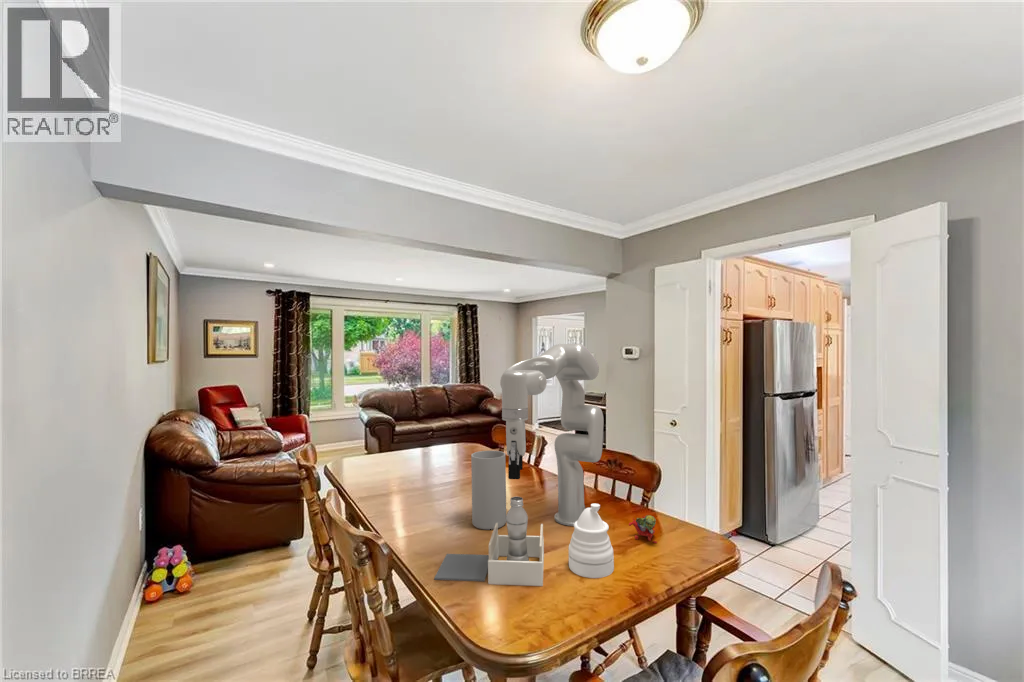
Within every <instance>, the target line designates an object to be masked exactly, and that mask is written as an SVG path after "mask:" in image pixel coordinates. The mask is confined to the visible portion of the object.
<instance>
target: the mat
mask: <svg viewBox="0 0 1024 682" xmlns="http://www.w3.org/2000/svg"><path fill="white" fill-rule="evenodd" d="M488 560H489V554H475V553H474V554H470V553H469V554H467V553H466V554H465V553H446V554H445V557H444V558H443V560H442V562H441V564H440V567H439V568H438V570H437V572H436V574H435V575H434V579H433V580H437V581H458V582H459V581H461V582H463V581H465V582H485V581H486V579H487V576H488Z"/></svg>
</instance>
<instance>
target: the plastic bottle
mask: <svg viewBox="0 0 1024 682" xmlns="http://www.w3.org/2000/svg"><path fill="white" fill-rule="evenodd" d="M509 505H510V506H509V507H510V508H509V510H507V512H506V529H507V535H508V553H507V556H506V560H505V561H530V559H529V558H530V557H528V552H527V542H526V536H527V534H528V533H527V530H528V521H529V520H528V519H529V516H528V513H527V511H526V509H525V508H524V498H523V497H521V496H512V497H510V503H509Z"/></svg>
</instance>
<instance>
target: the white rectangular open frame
mask: <svg viewBox="0 0 1024 682" xmlns="http://www.w3.org/2000/svg"><path fill="white" fill-rule="evenodd" d="M492 530H493V531H492V533H491V536H490V540H489V542H488V555H489V560H488V572H487V581H488V583H487V584H488V585H499V586H500V585H504V586H526V587H527V586H533V587H543V586H544V561H545V559H544V558H545V549H544V548H545V544H544V542H545V541H544V538H545V537H544V524H543V523H540V533H539V534H540V535H526V542H527V552H528V557H529V558H539V561H534V560H533V561H531V560H529V561H506V560H504V559H503V560H499V557H507V553H508V534H499V531H498V530H499V528H498V523H496V524H495V527H494V529H492Z"/></svg>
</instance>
